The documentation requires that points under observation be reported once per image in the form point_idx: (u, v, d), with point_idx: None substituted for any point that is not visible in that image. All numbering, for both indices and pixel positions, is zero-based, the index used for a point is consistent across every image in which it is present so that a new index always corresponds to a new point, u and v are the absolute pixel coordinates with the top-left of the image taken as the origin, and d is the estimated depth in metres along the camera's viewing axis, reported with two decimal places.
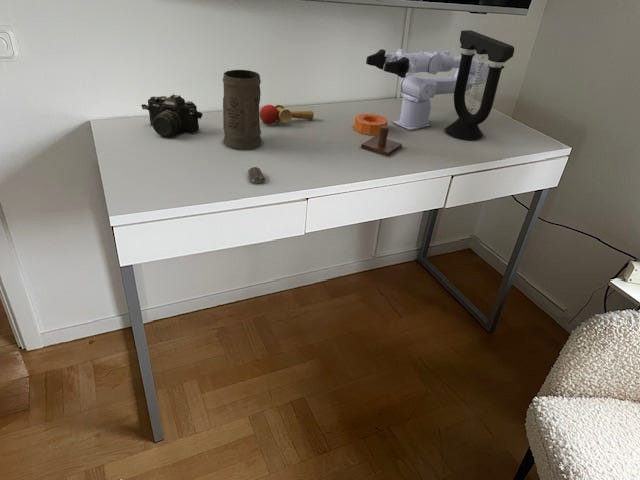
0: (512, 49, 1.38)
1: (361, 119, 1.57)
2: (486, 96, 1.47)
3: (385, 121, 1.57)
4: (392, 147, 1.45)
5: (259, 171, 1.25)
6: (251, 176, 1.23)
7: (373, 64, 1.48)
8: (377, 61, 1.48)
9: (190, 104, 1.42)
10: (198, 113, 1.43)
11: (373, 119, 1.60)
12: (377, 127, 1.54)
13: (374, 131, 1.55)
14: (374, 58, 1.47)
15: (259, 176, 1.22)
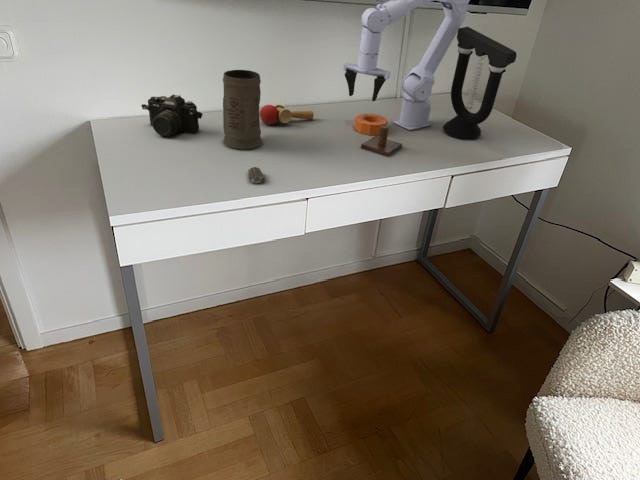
0: (514, 55, 1.35)
1: (361, 119, 1.57)
2: (487, 99, 1.46)
3: (385, 121, 1.57)
4: (392, 147, 1.45)
5: (259, 171, 1.25)
6: (251, 176, 1.23)
7: None
8: (353, 82, 1.54)
9: (190, 104, 1.42)
10: (198, 113, 1.43)
11: (373, 119, 1.60)
12: (377, 127, 1.54)
13: (374, 131, 1.55)
14: (352, 87, 1.55)
15: (259, 176, 1.22)
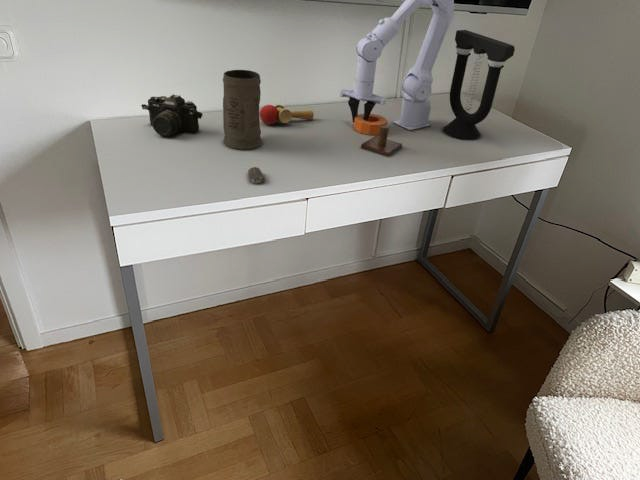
0: (513, 48, 1.39)
1: (361, 119, 1.57)
2: (486, 95, 1.48)
3: (385, 121, 1.57)
4: (392, 147, 1.45)
5: (259, 171, 1.25)
6: (251, 176, 1.23)
7: (357, 112, 1.60)
8: (356, 108, 1.58)
9: (190, 104, 1.42)
10: (198, 113, 1.43)
11: (373, 119, 1.60)
12: (377, 127, 1.54)
13: (374, 131, 1.55)
14: (355, 114, 1.58)
15: (259, 176, 1.22)
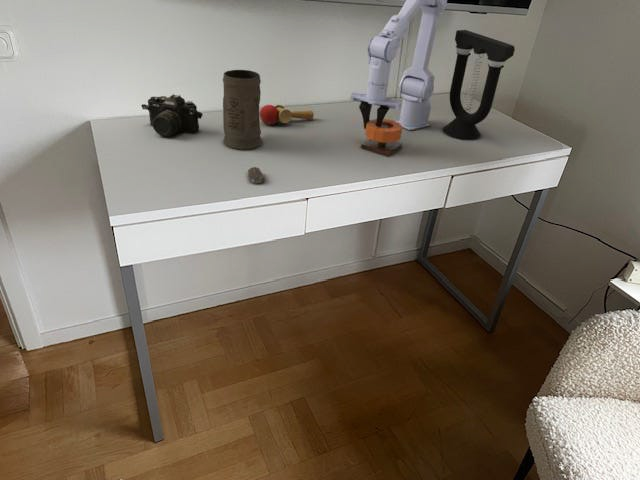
0: (513, 48, 1.39)
1: (373, 125, 1.43)
2: (486, 95, 1.48)
3: (399, 127, 1.43)
4: (392, 147, 1.45)
5: (259, 171, 1.25)
6: (251, 176, 1.23)
7: None
8: (368, 114, 1.44)
9: (190, 104, 1.42)
10: (198, 113, 1.43)
11: (386, 125, 1.46)
12: (391, 134, 1.40)
13: (388, 138, 1.41)
14: (367, 120, 1.44)
15: (259, 176, 1.22)
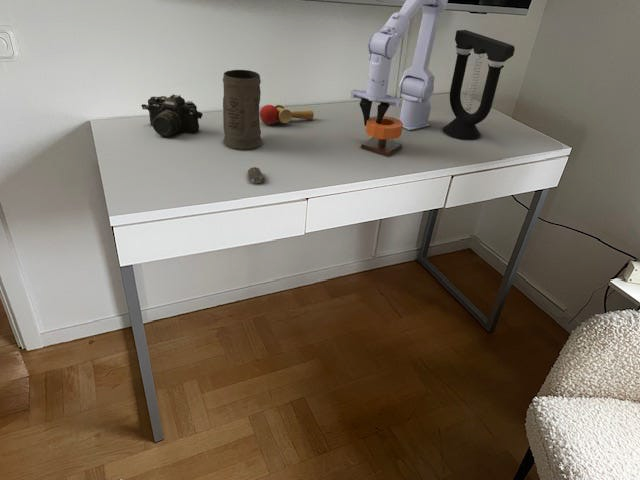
0: (513, 48, 1.39)
1: (373, 122, 1.42)
2: (486, 95, 1.48)
3: (400, 124, 1.42)
4: (392, 147, 1.45)
5: (259, 171, 1.25)
6: (251, 176, 1.23)
7: (369, 115, 1.45)
8: (369, 111, 1.44)
9: (190, 104, 1.42)
10: (198, 113, 1.43)
11: (386, 122, 1.46)
12: (391, 131, 1.40)
13: (388, 135, 1.40)
14: (367, 117, 1.44)
15: (259, 176, 1.22)
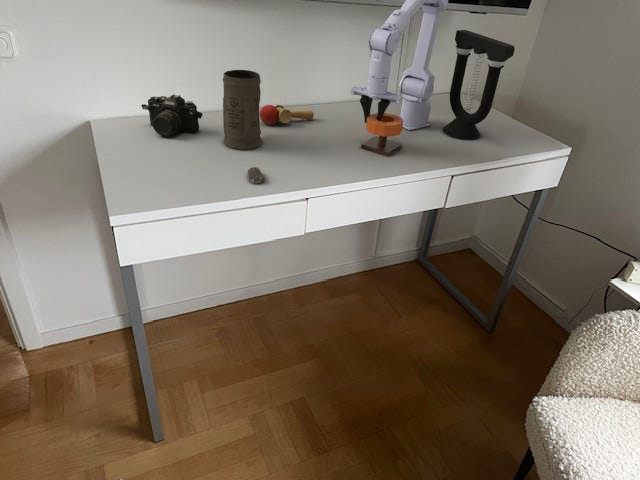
0: (513, 48, 1.39)
1: (374, 119, 1.42)
2: (486, 95, 1.48)
3: (400, 121, 1.42)
4: (392, 147, 1.45)
5: (259, 171, 1.25)
6: (251, 176, 1.23)
7: (369, 112, 1.45)
8: (369, 108, 1.43)
9: (190, 104, 1.42)
10: (198, 113, 1.43)
11: (387, 119, 1.45)
12: (392, 127, 1.39)
13: (389, 132, 1.40)
14: (367, 114, 1.43)
15: (259, 176, 1.22)
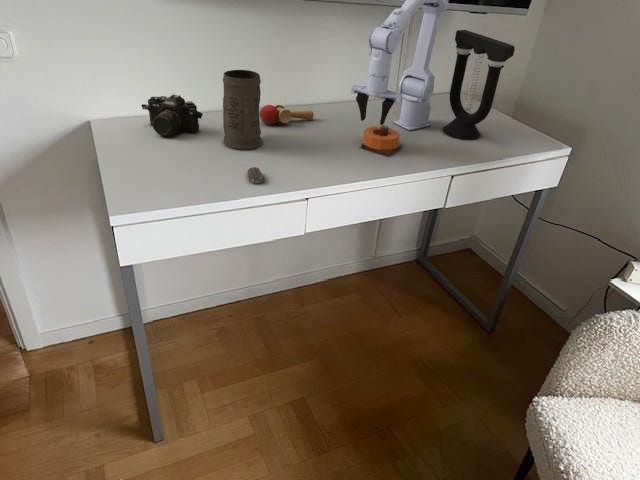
0: (513, 48, 1.39)
1: (370, 133, 1.44)
2: (486, 95, 1.48)
3: (396, 135, 1.44)
4: None
5: (258, 171, 1.25)
6: (251, 176, 1.23)
7: (365, 109, 1.45)
8: (365, 105, 1.43)
9: (190, 104, 1.42)
10: (198, 113, 1.43)
11: None
12: (388, 141, 1.42)
13: (385, 146, 1.42)
14: (364, 111, 1.44)
15: (259, 176, 1.22)
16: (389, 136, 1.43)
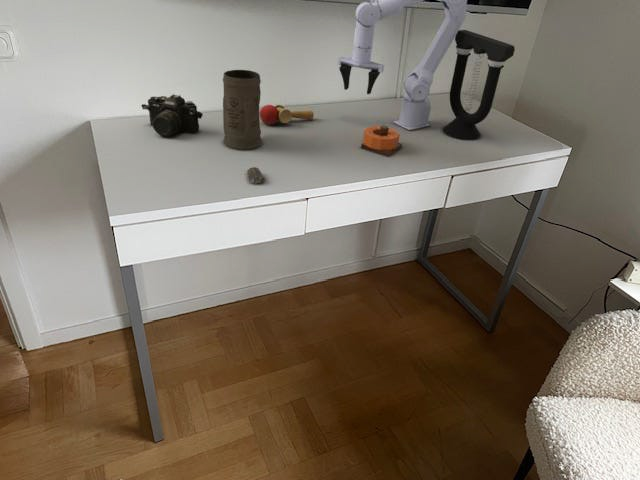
0: (513, 48, 1.39)
1: (370, 133, 1.44)
2: (486, 95, 1.48)
3: (396, 135, 1.44)
4: None
5: (258, 171, 1.25)
6: (250, 176, 1.23)
7: (348, 79, 1.58)
8: (348, 75, 1.57)
9: (190, 104, 1.42)
10: (198, 113, 1.43)
11: None
12: (388, 141, 1.42)
13: (385, 146, 1.42)
14: (347, 81, 1.57)
15: (259, 176, 1.22)
16: (389, 136, 1.43)
